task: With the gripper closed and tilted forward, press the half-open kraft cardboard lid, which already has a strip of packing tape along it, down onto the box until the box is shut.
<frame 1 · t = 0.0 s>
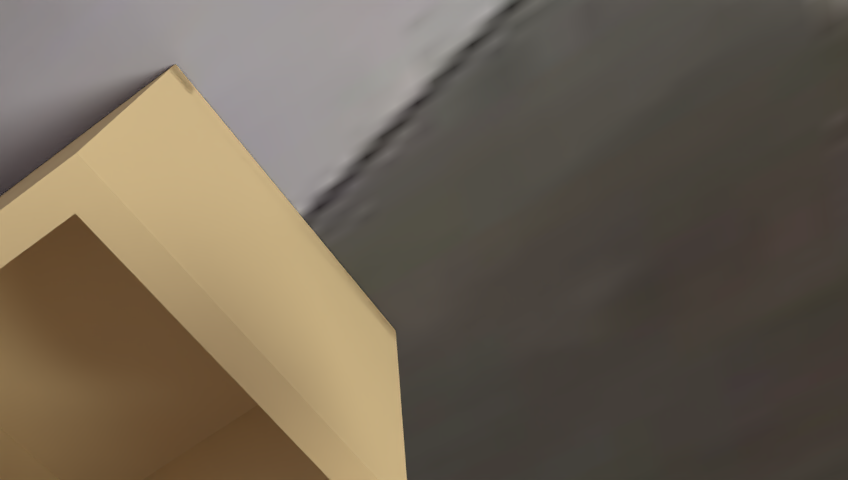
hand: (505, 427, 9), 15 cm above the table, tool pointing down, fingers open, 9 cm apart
cardboard box: (134, 318, 24), on the table
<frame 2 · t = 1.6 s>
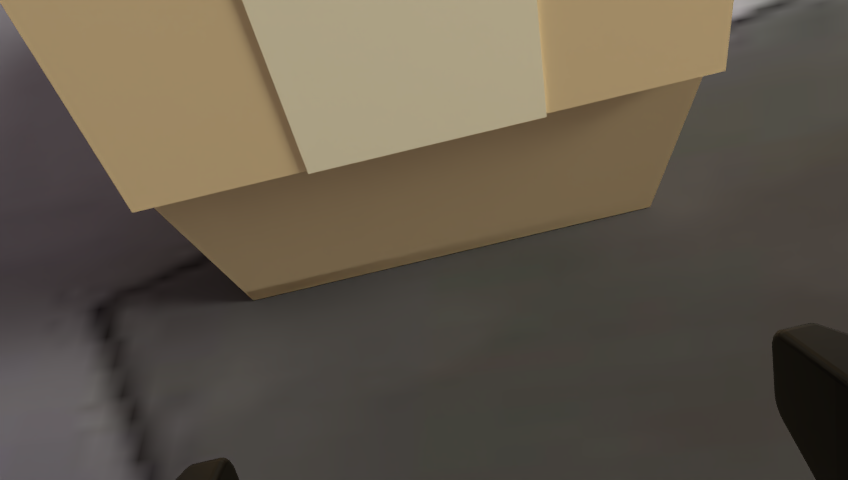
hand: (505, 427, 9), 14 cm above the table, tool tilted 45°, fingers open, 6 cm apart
cardboard box: (416, 109, 26), on the table
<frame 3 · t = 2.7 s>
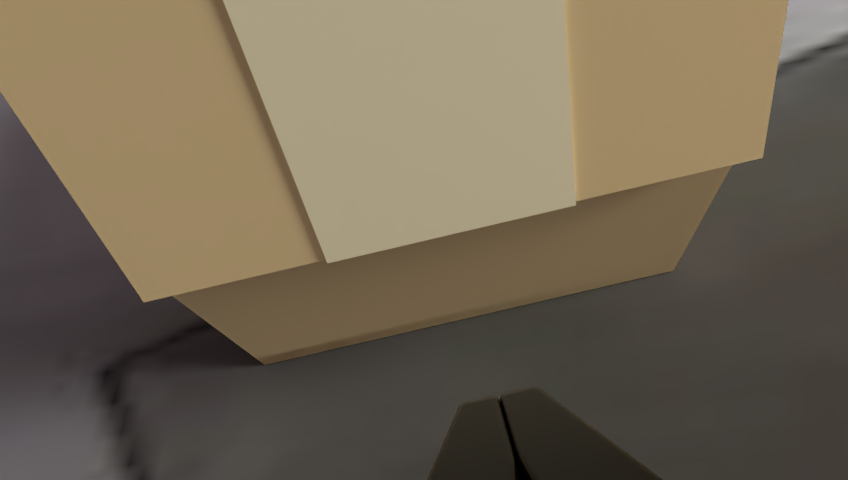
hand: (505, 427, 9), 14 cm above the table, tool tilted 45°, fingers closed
cardboard box: (431, 165, 25), on the table
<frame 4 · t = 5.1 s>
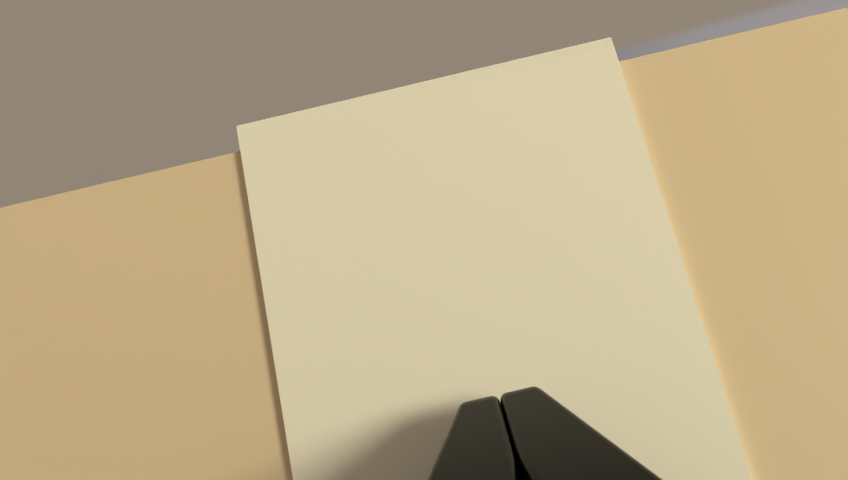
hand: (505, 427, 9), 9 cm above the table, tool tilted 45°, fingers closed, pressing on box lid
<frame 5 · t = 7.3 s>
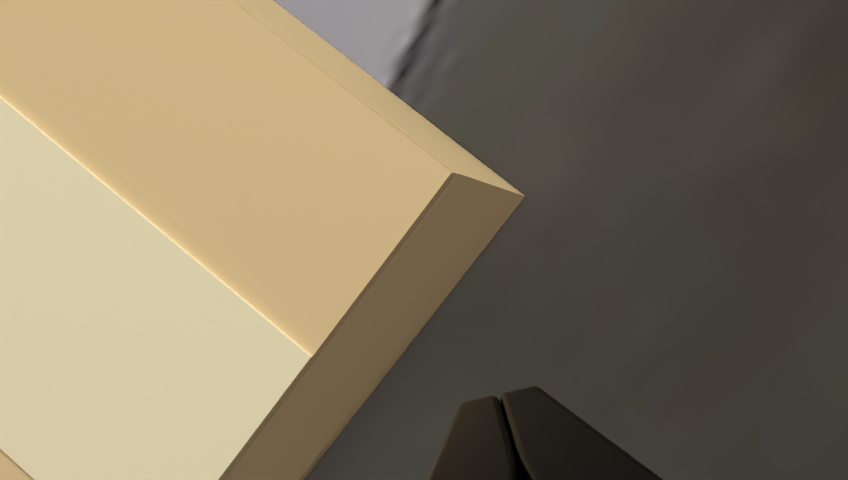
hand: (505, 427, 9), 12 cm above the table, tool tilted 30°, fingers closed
cardboard box: (249, 258, 22), on the table
box lid: (42, 265, 15), point 8 cm above the table, hinge at 4.4°
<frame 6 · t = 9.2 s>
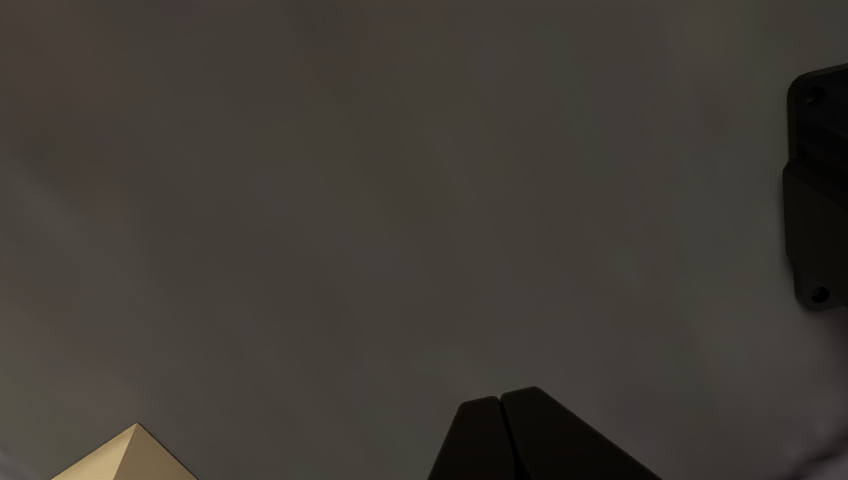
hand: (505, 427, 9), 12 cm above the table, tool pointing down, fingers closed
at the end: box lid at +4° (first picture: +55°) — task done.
